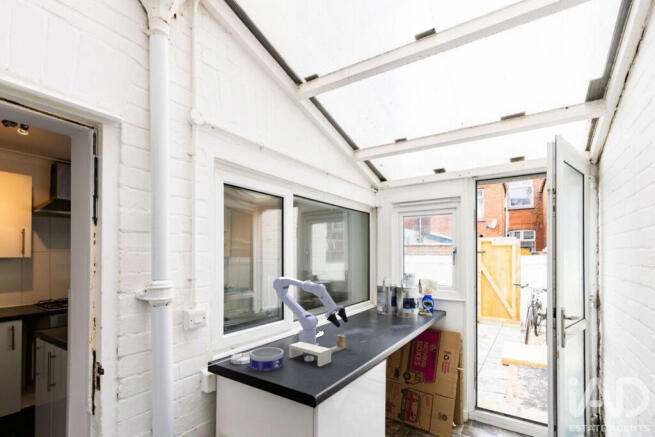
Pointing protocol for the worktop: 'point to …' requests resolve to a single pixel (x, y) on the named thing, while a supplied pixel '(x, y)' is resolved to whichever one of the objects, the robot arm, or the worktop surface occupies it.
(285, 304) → the robot arm
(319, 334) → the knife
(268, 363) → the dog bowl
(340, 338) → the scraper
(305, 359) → the token
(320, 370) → the worktop surface
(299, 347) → the small white bench
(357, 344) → the worktop surface
